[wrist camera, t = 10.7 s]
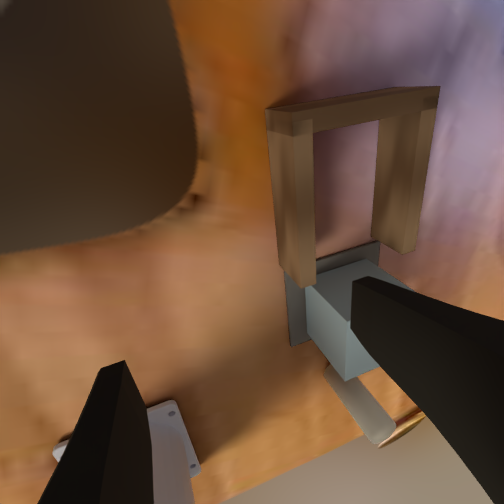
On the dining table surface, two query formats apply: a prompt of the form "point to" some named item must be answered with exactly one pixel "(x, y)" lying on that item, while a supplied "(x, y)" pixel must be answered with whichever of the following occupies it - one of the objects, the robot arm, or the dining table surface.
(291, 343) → the mat
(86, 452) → the robot arm
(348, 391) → the pull block
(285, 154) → the wooden arch frame
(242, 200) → the dining table surface
